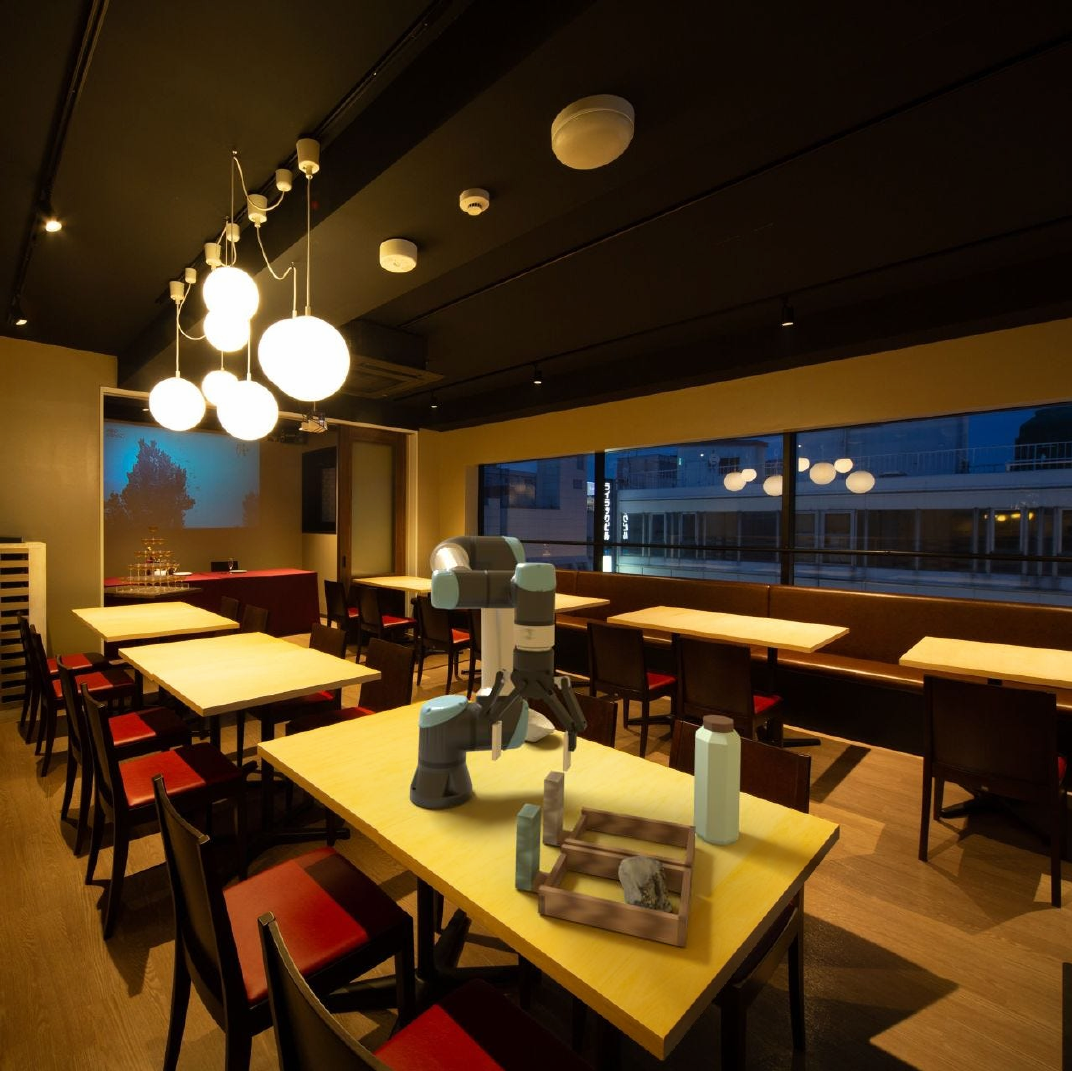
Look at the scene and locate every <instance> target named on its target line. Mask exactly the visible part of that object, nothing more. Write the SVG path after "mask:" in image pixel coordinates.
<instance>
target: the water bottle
mask: <svg viewBox="0 0 1072 1071" xmlns="http://www.w3.org/2000/svg"><path fill="white" fill-rule="evenodd" d="M702 718H703V719H702V722H703V723H702V726H700V728H698V729H697V730H695V739H694V741H695V743H694V744H695V746H694V786H693V788H694V789H693V824H692V826H696V829H695V836H697V837H698V838H700V839H702V840H703V841H705V842H706V843H708V844H713V845H719V846H725V845H726V846H727V845H730V844H733V843H735V842H737V840H738V839H739V838H740V837H739V836H740V835H739V834H740V798H741V793H740V792H741V791H740V790H741V788H740V787H741V748H742V747H741V746H742V745H741V744H742V742H741V736H740V734H739V733H738V732H737V731H736V730H735V729H734V728H735V726H734V719H733V718H730V717H728V716H725V715H716V714H708V715H704V716H703V717H702Z"/></svg>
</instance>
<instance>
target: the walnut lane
mask: <svg viewBox="0 0 1072 1071" xmlns="http://www.w3.org/2000/svg"><path fill="white" fill-rule="evenodd" d="M541 824H542V805H538V804H537V805H536V804H532V803H525V804H524V805H523V807H522V808H521V809H520V811H519V812H518V813H517V814H516V832H515V833H516V836H515V838H516V842H515V871H514V872H515V874H514V875H515V876H514V877H515V879H514V880H515V881H514V889H518V890H519V889H520V890H523V891H528V892H532V893H536V894H538V899H537V900H538V901H537V914H541V915H545V916H551V917H552V918H553V917H554V918H558V919H563V920H567V921H570V922H575V923H576V922H577V923H581V924H584V925H589V926H593V927H597V928H601V929H605V930H610V931H614V932H617V933H622V934H626V935H631V936H635V937H639V938H644V939H647V940H652V941H656V942H661V943H665V944H669V945H671V946H672V945H673V946H678V947H682V948H686V942H687V936H688V935H687V934H688V933H687V932H688V925H689V924H688V923H689V912H690V902H691V893H692V892H691V891H692V883H691V869H690V868H685V867H680V866H674V865H669V864H664V863H661V864H662V866H663V869H664V875H665V882H666V887H667V891H668V892H675V893H680V899H679V900H680V901H679V907H678V914H676V913H675V914H674V913H673V914H671V913H666V912H662V911H657V910H653V909H648V908H644V907H639V906H635V905H630V904H627V903H626V902H621V901H617V900H616V901H615V900H611V899H606V898H602V897H598V896H594V895H588V894H584V893H580V892H575V891H570V890H567V889H560V888H559V886H560V884H561V882H562V880H563V878H564V876H565V874H566V872H567V870H569V871H573V872H578V873H584V874H586V875H587V874H588V875H593V876H597V877H603V878H606V879H607V878H608V879H612V880H618V881H620V880H619V874H618V871H619V866H620V865H621V862H622V860H625V859H628V858H631V857H628V856H623V855H618V854H613V853H607V852H602V851H597V850H592V849H587V848H582V847H576V846H571V845H566V844H563V845H562V847H561V846H560V853H559V855H558V858H557V859H556V860H555V862H554V865H553V867H552V868H551V870H550V872H547V871H542V870H540V867H541V866H540V865H541V864H540V863H541V831H542V830H541V827H542V825H541Z"/></svg>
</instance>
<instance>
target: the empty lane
mask: <svg viewBox="0 0 1072 1071" xmlns="http://www.w3.org/2000/svg"><path fill="white" fill-rule="evenodd" d="M564 800H565V772H559V771H555V770H554V771H553V770H550V772H549V773H548V774H547V775H546V777H544V779H543V809H542V810H543V811H542V812H543V813H542V843H543V844H547V845H552V846H557V847H560V848H561V847H562V845H563V844H566V845H571V846H576V847H582V848H587V849H592V850H597V851H602V852H607V853H613V854H618V855H623V856H628V857H634V856H643V857H648V858H652V859H654V860H658V861H659V862H660V863H664V864H669V865H674V866H680V867H685V868H690V869H691V884H692V883H693V871H694V861H695V852H696V851H695V850H696V833H695V829H696V826H693V825H689V824H683V823H678V822H671V821H667V820H661V819H660V820H659V819H653V818H647V817H643V816H637V815H630V814H625V813H619V812H613V811H609V810H608V811H607V810H602V809H601V810H600V809H595V808H590V807H584V806H582V808H581V810H580V811H581V814H580V816H579V818H578V820H577V822H576V824H575V825H574V827H573V828H572V830H569V829H564V808H565V806H564V805H565V803H564V802H565V801H564ZM587 830H591V831H596V832H602V833H607V834H612V835H618V836H623V837H628V838H634V839H639V840H646V841H651V842H656V843H662V844H667V845H673V846H678V847H683V848H684V847H685V848H686V852H685V860H683V859H677V858H672V857H667V856H663V855H657V854H652V853H645V852H642V851H641V852H640V851H635V850H630V849H625V848H620V847H615V846H608V845H604V844H600V843H593V842H589V841H582V839H583V837H584V834H585V833H586V831H587Z"/></svg>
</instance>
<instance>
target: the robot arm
mask: <svg viewBox="0 0 1072 1071" xmlns="http://www.w3.org/2000/svg"><path fill="white" fill-rule="evenodd" d="M525 556H526V554H525V551H524V546H523V545H522V543H521V541H520V540H519V539H518V538H516V537H513V536H512V537H511V536H510V537H509V536H505V535H501V536H500V535H499V536H498V535H496V536H495V535H493V536H492V535H487V536H486V535H482V536H481V535H458V536H453V537H450V538H448V539H445V540H443V541H442V542H440V543H439V544H437V545H436V546H435V547H434V548H433V550H432V551H431V553H430V557H429V565H430V569H431V572H432V574H431V581H430V582H431V583H430V585H431V586H430V598H431V602H430V603H431V606H432V607H434V608H435V609H446V610H456V609H457V610H458V609H459V610H461V609H466V610H467V609H469V610H470V609H480V610H481V612H480V613H481V616H480V617H481V627H480V628H481V687H480V689H479V690H478V691H477V692H476V693H475V701H472V702H471V701H470V702H469V699H468V698H467V697H466V696H465V695H461V694H460V695H457V694H448V695H441V696H438V697H434V698H431V699H430V700H428V701H426V702H424V703H423V704H422V705H421V707H420V709H419V719H418V723H417V725H418V727H419V728H418V749H417V750H418V751H417V756H418V757H417V766H416V769H415V771H414V774H413V777H412V780H411V783H410V787H409V799H410V801H411V802H412V803H413V804H415V805H416V806H419V807H422V808H426V809H434V810H435V809H437V810H438V809H439V810H440V809H443V810H444V809H449V808H455V807H459V806H461V805H464V804H465V803H467V802H468V801H469V800H470V799H471V798H472V797H473V781H472V779H471V775H470V771H469V767H468V764H467V753H468V752H469V753H471V752H487V751H488V752H489V751H491V761H494V762H495V761H497V760H498V759H499V758H500V757H501V756H502V751H504V752H505V751H508V750H515V749H516V750H517V749H519V748H521V747H522V746H523V745H524V744H525V742H526V740H525V738H526V735H527V730H528V722H529V711H528V708H529V709H530V707H529V703H528V701H526V700H527V699H532V700H537V701H539V700H541V699H542V701H544V702H545V703H546V704H547V705H548V707H550V709H551V711H552V712H553V713H554V715H555V716H556V718H557V719H558V720H559V722H560V724H562V727H564V729H565V732H564V733H563V744H562V745H563V746H562V747H563V748H562V771H563V772H568V770H569V769H570V768H571V765H572V761H571V760H572V753H574V752H575V750H576V749H577V746H578V745H577V742H578V740H577V739H578V737H577V736H578V733H583V732H585V730H586V728H587V727H588V722H587V720H586V717H585V716H584V715H585V714H583V711H582V709H581V707H580V704H579V701H578V700H577V697H576V694H575V693H574V690H573V688H572V679H571V675H569V674H566V675H564V676H555V672H554V666H555V665H554V661H555V659H554V658H555V650H554V649H553V648H552V647H553V646H555V626H556V625H555V620H556V619H555V618H556V613H555V612H556V589H557V577H556V575H557V574H556V567H555V565H554V564H553V563H545V562H526V557H525ZM555 685H557V687H558V689H559V690H561V693H562V696H563V699H564V701H565V703H566V705H567V707H568V710H569V712H570V714H571V715H570V714H569V712H568V711H567V710H566V708H565V707H564V705H563V704H562V702H561V700H559V699H558V697H557V694H556V693H555V691H554V690H553V689H552V688H553V687H554V686H555ZM525 699H526V700H525Z"/></svg>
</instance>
